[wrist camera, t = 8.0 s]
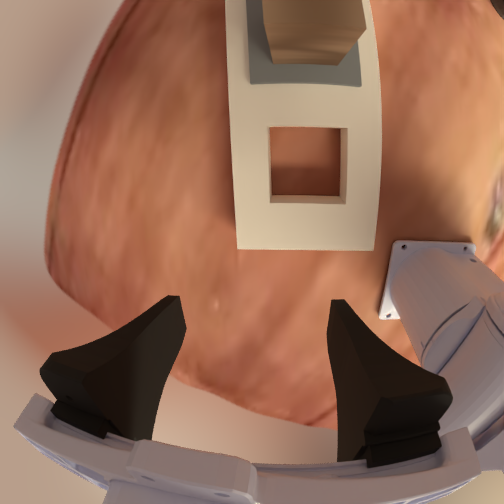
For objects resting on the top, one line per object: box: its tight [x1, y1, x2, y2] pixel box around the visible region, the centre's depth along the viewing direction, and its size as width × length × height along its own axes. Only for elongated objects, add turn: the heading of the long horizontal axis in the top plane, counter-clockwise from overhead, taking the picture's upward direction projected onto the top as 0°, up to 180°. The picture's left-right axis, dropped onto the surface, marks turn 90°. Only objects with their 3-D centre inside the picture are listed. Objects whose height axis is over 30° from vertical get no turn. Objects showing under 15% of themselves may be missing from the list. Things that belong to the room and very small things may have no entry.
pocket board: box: [225, 0, 382, 251], centre depth 16 cm, size 10×20×2 cm, turn 3°
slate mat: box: [246, 0, 362, 87], centre depth 13 cm, size 7×7×1 cm
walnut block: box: [262, 0, 367, 66], centre depth 10 cm, size 4×4×7 cm
